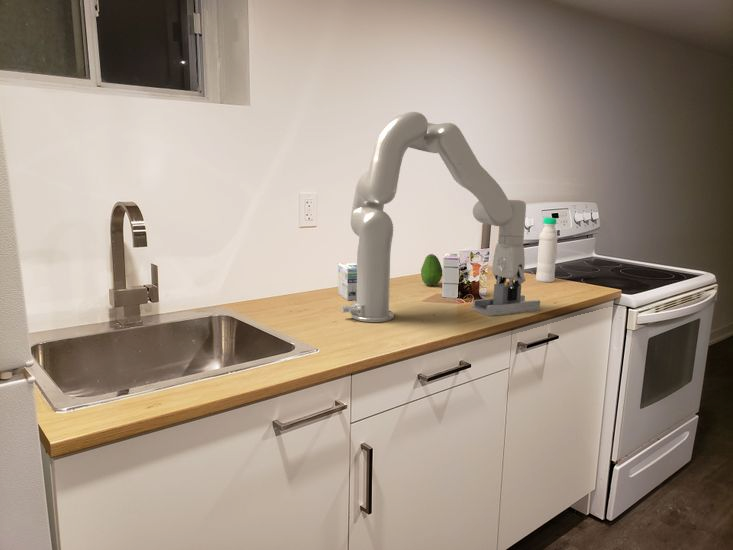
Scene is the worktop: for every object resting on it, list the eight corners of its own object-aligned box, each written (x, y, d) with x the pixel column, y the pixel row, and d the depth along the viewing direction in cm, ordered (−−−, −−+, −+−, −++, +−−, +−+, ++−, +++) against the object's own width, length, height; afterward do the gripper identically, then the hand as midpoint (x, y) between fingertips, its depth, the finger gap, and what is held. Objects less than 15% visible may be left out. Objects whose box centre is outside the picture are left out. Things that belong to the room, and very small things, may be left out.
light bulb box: (366, 299, 186) (366, 267, 183) (346, 301, 183) (347, 268, 181) (355, 292, 195) (356, 262, 193) (337, 293, 193) (337, 263, 191)
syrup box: (458, 298, 189) (461, 256, 186) (441, 297, 190) (443, 255, 188) (459, 295, 195) (461, 253, 192) (442, 293, 196) (444, 253, 193)
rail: (489, 316, 167) (490, 306, 167) (471, 309, 175) (472, 300, 175) (540, 310, 176) (541, 300, 176) (521, 303, 184) (521, 294, 183)
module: (502, 309, 172) (503, 284, 171) (492, 305, 176) (494, 281, 174) (519, 306, 175) (521, 282, 174) (510, 303, 179) (512, 279, 177)
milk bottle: (556, 282, 218) (562, 218, 214) (538, 282, 218) (543, 218, 214) (551, 279, 225) (556, 217, 220) (533, 278, 225) (538, 216, 221)
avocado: (417, 286, 207) (419, 254, 204) (424, 282, 214) (425, 251, 212) (438, 288, 204) (440, 256, 201) (444, 284, 211) (445, 253, 209)
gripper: (483, 237, 177) (480, 293, 181) (519, 244, 162) (515, 305, 166) (502, 236, 181) (498, 292, 184) (539, 243, 166) (534, 303, 169)
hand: (506, 297), depth 175 cm, fingers closed on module, 4 cm apart
